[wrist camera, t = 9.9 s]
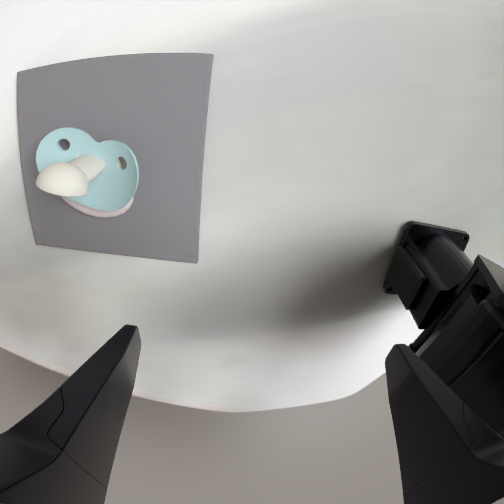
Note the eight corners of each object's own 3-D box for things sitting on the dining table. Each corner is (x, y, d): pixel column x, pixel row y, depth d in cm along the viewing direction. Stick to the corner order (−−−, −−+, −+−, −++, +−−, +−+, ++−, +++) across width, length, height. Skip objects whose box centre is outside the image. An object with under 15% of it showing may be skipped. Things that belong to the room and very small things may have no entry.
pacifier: (135, 225, 20) (156, 145, 17) (100, 283, 15) (115, 184, 12) (50, 194, 19) (59, 116, 16) (0, 240, 14) (-3, 145, 10)
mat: (213, 54, 15) (212, 53, 14) (198, 258, 22) (197, 263, 22) (22, 71, 14) (17, 72, 13) (39, 240, 21) (36, 244, 21)
